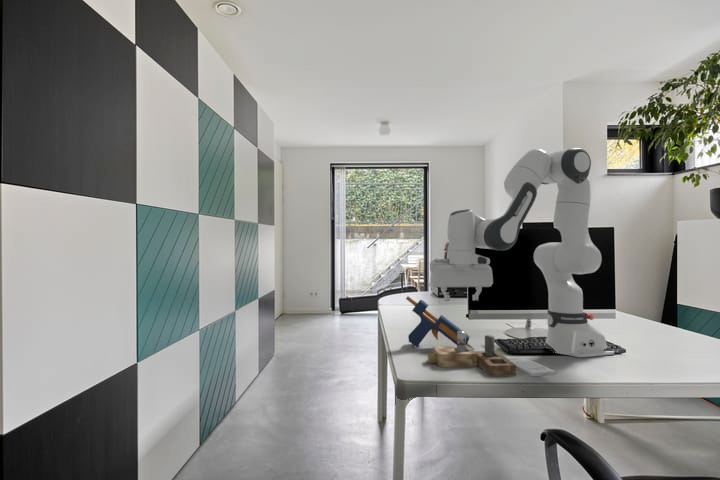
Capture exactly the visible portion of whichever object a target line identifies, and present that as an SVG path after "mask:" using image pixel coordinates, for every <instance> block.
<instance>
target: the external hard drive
mask: <svg viewBox="0 0 720 480" xmlns="http://www.w3.org/2000/svg"><path fill="white" fill-rule="evenodd" d="M509 360H510V359H509ZM510 361H511V362H513V363H514V364H515V365H516V370H519V371H521V372H523V373H525V374H528V375H529V376H531V377H539V376H545V375H546V376H548V375H556V373H557V372H556V370H554V369H551V368H549V367H548V366H545V365H542V364H541V363H539V362H536V361H534V360H531V359H530V358H521V359H512V360H510Z"/></svg>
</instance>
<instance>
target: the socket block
mask: <svg viewBox="0 0 720 480" xmlns="http://www.w3.org/2000/svg"><path fill="white" fill-rule="evenodd" d="M432 354H436V355H437V363H436V364H437V366H438V365H439V366H438V367H439V368H454V367H459V368H460V367H477V366H478V364H477V354H476V353H475V352H474V349H472V348H470V347H468V346H466V352H457V345H454V346H452V345H451V346H450V345H449V346H448V345H447V346H432Z"/></svg>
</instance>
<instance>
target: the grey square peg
mask: <svg viewBox="0 0 720 480" xmlns="http://www.w3.org/2000/svg"><path fill="white" fill-rule="evenodd" d="M466 334H467V332H466V331H464V330H462V331H457V345H456V346H457V352H466Z"/></svg>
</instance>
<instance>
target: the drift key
mask: <svg viewBox="0 0 720 480" xmlns="http://www.w3.org/2000/svg"><path fill="white" fill-rule="evenodd" d="M427 362H428V363H429V364H430V365H431V364H432V365H433V364H437V355H436V354H433V352H431V351H430V352H429V351H427Z"/></svg>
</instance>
